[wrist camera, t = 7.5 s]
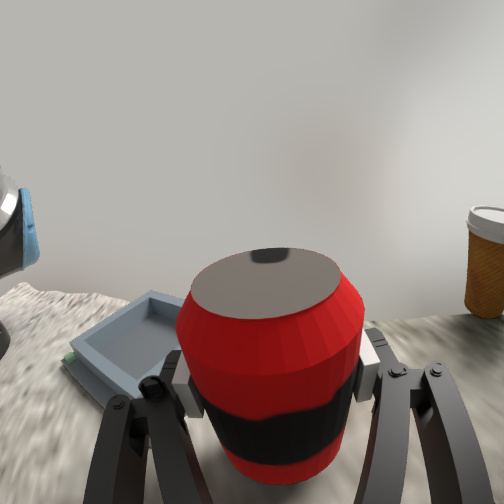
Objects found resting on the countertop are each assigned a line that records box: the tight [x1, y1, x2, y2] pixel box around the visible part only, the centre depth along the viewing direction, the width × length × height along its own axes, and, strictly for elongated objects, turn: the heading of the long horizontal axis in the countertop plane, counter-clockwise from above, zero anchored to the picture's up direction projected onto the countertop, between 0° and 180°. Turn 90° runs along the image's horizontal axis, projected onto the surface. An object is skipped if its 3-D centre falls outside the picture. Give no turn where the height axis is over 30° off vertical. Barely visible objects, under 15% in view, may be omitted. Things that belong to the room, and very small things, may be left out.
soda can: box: [175, 248, 365, 485], centre depth 12 cm, size 8×8×12 cm
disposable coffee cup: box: [464, 206, 504, 319], centre depth 23 cm, size 10×10×12 cm
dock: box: [61, 290, 186, 448], centre depth 27 cm, size 18×18×4 cm
